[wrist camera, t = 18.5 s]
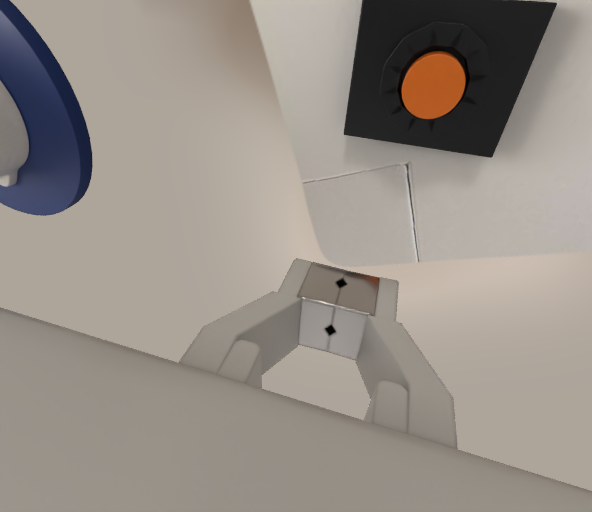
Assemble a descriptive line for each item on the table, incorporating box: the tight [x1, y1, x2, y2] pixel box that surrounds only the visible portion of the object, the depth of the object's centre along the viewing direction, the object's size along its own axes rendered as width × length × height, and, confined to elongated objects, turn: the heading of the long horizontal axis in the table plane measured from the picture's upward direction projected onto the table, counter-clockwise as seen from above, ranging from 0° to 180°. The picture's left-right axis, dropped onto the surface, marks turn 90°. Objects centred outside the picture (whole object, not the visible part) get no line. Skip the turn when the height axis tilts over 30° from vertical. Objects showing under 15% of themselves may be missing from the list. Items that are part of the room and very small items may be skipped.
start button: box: [402, 51, 466, 119], centre depth 21 cm, size 4×4×2 cm
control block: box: [344, 0, 557, 157], centre depth 23 cm, size 11×9×4 cm
